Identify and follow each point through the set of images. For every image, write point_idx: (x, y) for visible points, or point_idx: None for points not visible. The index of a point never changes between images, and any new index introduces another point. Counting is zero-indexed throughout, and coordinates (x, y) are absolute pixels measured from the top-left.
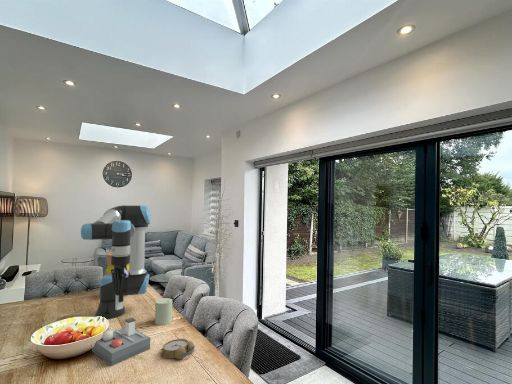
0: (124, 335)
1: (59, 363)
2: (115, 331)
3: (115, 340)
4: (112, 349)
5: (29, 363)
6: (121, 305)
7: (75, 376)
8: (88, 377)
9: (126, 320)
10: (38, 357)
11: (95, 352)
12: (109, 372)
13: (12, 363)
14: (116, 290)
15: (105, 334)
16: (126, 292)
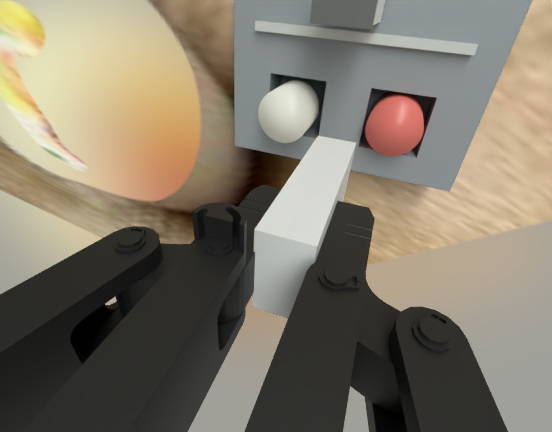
0: (352, 35)
1: None
2: (242, 22)
3: (380, 129)
4: (418, 166)
5: None
6: (346, 177)
7: (373, 250)
8: (422, 242)
9: (330, 23)
10: (177, 223)
11: None
12: (477, 198)
13: None
14: (225, 352)
15: (295, 140)
16: (464, 337)
